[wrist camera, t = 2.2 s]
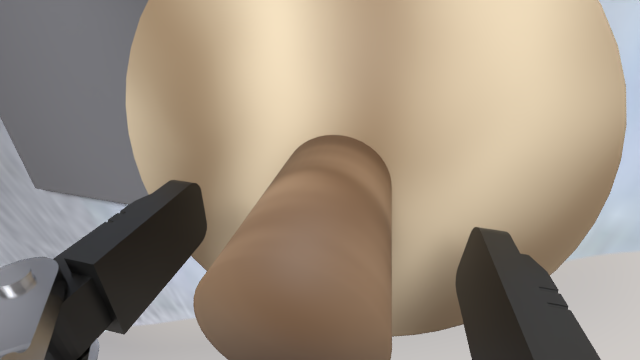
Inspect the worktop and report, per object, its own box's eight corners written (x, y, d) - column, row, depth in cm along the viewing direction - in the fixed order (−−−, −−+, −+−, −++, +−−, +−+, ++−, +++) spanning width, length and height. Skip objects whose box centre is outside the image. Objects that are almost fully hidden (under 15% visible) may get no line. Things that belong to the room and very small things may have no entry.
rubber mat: (42, 184, 27) (35, 188, 26) (-80, -73, 18) (-94, -75, 18) (227, 216, 24) (224, 220, 23) (190, -71, 15) (183, -75, 15)
